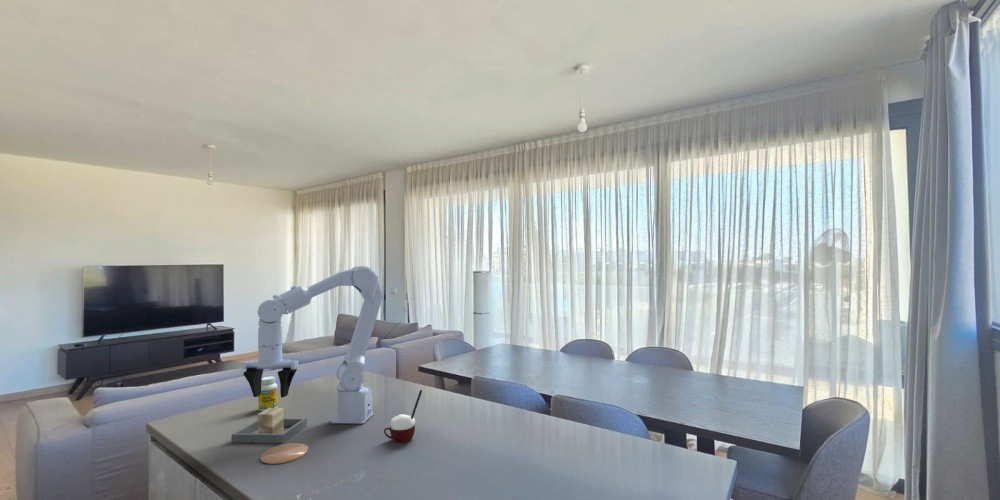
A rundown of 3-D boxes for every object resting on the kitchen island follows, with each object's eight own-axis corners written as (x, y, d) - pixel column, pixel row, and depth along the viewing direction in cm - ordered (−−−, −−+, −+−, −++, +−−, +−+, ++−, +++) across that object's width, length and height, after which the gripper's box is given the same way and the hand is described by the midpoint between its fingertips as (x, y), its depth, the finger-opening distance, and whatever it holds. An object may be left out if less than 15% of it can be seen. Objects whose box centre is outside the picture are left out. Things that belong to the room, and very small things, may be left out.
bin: (307, 425, 120) (306, 418, 120) (282, 443, 109) (282, 434, 109) (260, 425, 121) (260, 417, 121) (231, 442, 110) (231, 434, 110)
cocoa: (382, 445, 107) (378, 397, 107) (393, 434, 113) (389, 388, 113) (418, 446, 105) (414, 397, 105) (427, 434, 111) (424, 388, 111)
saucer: (315, 445, 107) (315, 443, 107) (293, 464, 97) (293, 462, 97) (277, 445, 108) (277, 442, 108) (250, 463, 98) (250, 461, 98)
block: (283, 430, 117) (283, 407, 118) (272, 437, 112) (272, 414, 113) (269, 430, 118) (269, 407, 118) (257, 437, 113) (257, 414, 113)
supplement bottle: (276, 404, 139) (276, 374, 139) (278, 409, 134) (278, 378, 135) (257, 408, 136) (257, 377, 136) (259, 413, 131) (258, 381, 132)
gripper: (234, 348, 112) (234, 400, 112) (287, 347, 111) (288, 401, 111) (252, 342, 119) (252, 392, 119) (302, 342, 118) (303, 392, 118)
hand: (270, 396), depth 115 cm, fingers open, 7 cm apart
